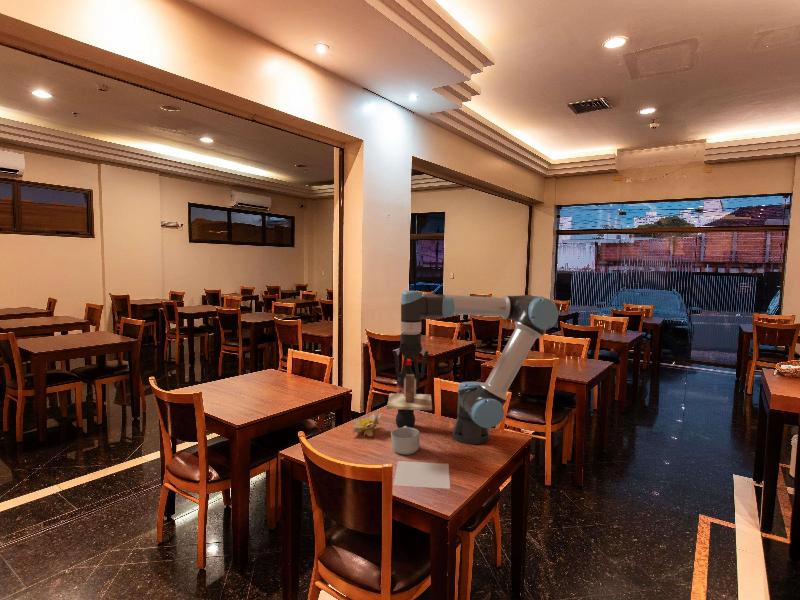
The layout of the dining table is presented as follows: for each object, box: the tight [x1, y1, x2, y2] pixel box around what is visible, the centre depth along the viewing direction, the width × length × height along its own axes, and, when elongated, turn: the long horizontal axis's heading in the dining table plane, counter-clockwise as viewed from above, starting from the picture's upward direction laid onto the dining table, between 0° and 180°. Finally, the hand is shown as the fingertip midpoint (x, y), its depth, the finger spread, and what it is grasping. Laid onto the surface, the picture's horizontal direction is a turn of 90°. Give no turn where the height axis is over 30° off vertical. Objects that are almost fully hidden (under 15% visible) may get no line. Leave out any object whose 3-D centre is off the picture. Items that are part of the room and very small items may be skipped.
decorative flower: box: [351, 412, 382, 437], centre depth 193 cm, size 15×11×10 cm
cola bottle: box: [395, 358, 416, 428], centre depth 199 cm, size 8×8×30 cm
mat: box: [393, 460, 451, 490], centre depth 155 cm, size 18×18×1 cm
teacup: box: [390, 426, 420, 456], centre depth 175 cm, size 14×11×8 cm
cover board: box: [386, 374, 433, 411], centre depth 170 cm, size 16×16×10 cm
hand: (409, 395), depth 170 cm, fingers closed on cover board, 3 cm apart
